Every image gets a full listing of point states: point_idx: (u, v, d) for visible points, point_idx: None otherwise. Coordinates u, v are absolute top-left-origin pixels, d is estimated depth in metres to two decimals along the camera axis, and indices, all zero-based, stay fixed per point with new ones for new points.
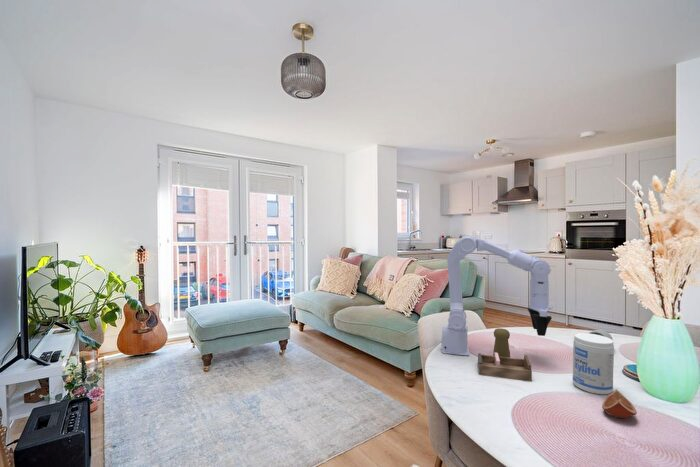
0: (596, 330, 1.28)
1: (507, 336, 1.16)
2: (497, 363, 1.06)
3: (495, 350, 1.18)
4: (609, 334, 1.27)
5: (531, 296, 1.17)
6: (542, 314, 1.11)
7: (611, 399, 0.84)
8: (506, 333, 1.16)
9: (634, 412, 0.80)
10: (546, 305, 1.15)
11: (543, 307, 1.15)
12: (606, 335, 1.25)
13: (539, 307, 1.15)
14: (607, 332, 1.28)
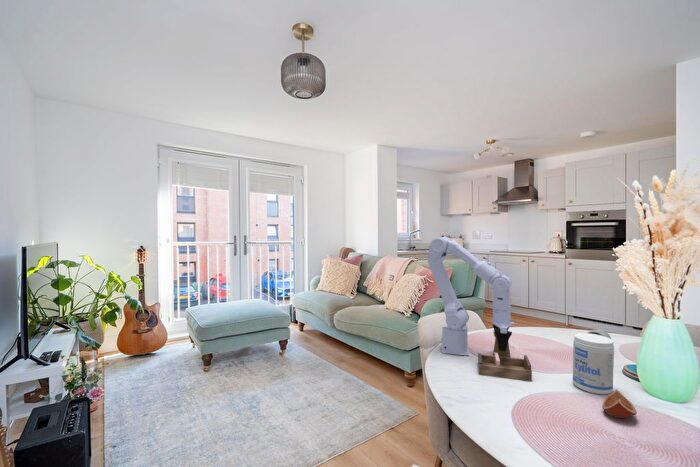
0: (595, 330, 1.28)
1: None
2: (497, 363, 1.06)
3: (495, 350, 1.18)
4: (608, 334, 1.27)
5: (494, 312, 1.18)
6: (502, 331, 1.11)
7: (611, 399, 0.84)
8: None
9: (634, 412, 0.80)
10: (508, 321, 1.16)
11: (505, 323, 1.15)
12: (605, 335, 1.25)
13: (501, 323, 1.16)
14: (606, 332, 1.28)
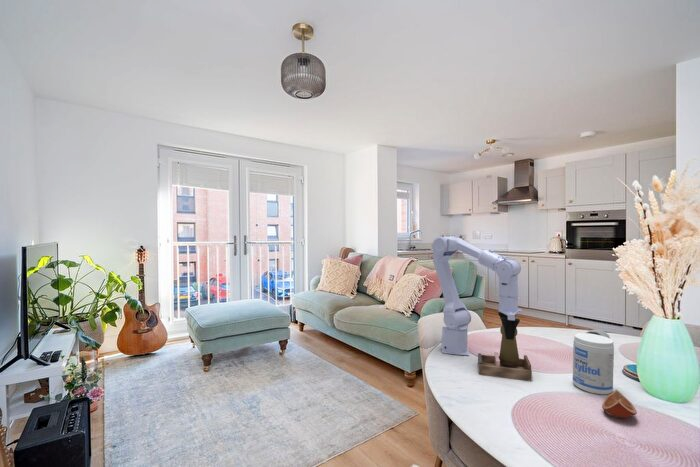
0: (594, 330, 1.29)
1: None
2: (497, 363, 1.06)
3: (502, 348, 1.12)
4: (607, 334, 1.28)
5: (500, 298, 1.11)
6: (510, 318, 1.05)
7: (611, 399, 0.84)
8: None
9: (634, 412, 0.80)
10: (515, 308, 1.09)
11: (512, 310, 1.09)
12: (604, 335, 1.25)
13: (508, 310, 1.09)
14: (605, 332, 1.29)
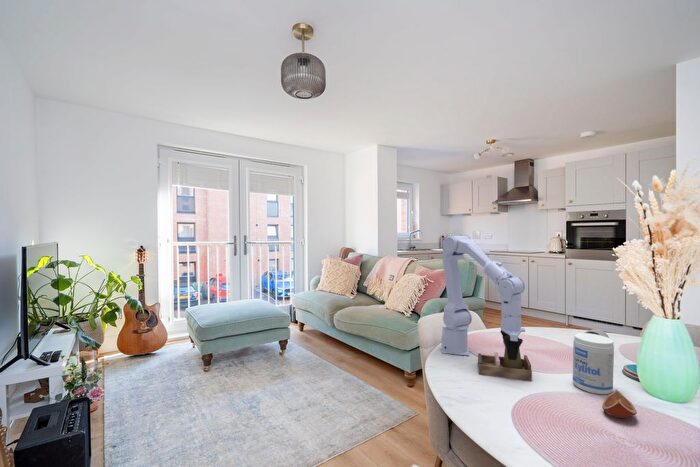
0: (593, 329, 1.29)
1: None
2: (497, 363, 1.06)
3: (505, 359, 1.08)
4: (605, 333, 1.28)
5: (502, 317, 1.08)
6: (512, 338, 1.01)
7: (611, 399, 0.84)
8: None
9: (634, 412, 0.80)
10: (518, 327, 1.06)
11: (515, 330, 1.05)
12: (602, 334, 1.25)
13: (510, 330, 1.06)
14: None
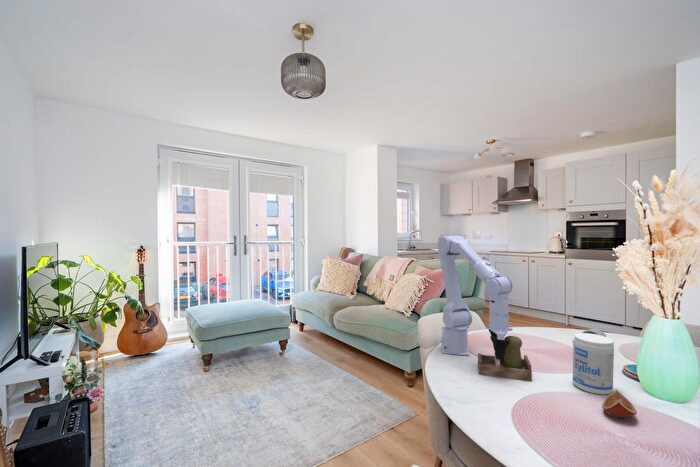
0: (590, 329, 1.29)
1: (519, 345, 1.05)
2: (497, 363, 1.06)
3: (505, 359, 1.08)
4: (603, 333, 1.28)
5: (490, 316, 1.09)
6: (499, 337, 1.03)
7: (611, 399, 0.84)
8: (517, 341, 1.06)
9: (634, 412, 0.80)
10: (505, 326, 1.07)
11: (502, 329, 1.06)
12: (600, 334, 1.26)
13: (498, 328, 1.07)
14: (601, 331, 1.29)
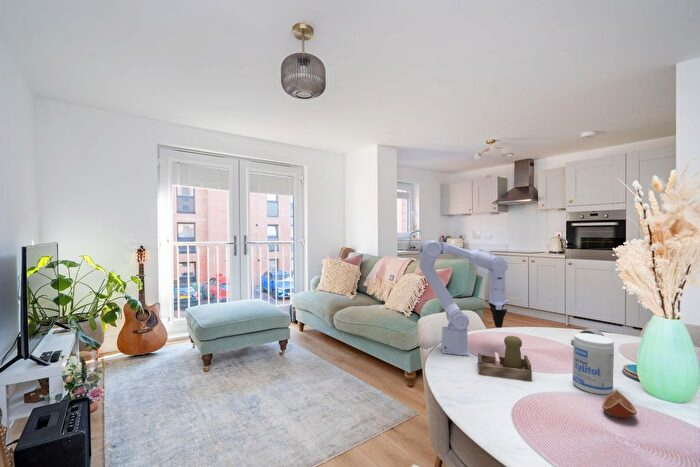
0: (588, 329, 1.30)
1: (518, 345, 1.05)
2: (497, 363, 1.06)
3: (505, 359, 1.08)
4: (601, 333, 1.29)
5: (489, 291, 1.26)
6: (498, 307, 1.19)
7: (611, 399, 0.84)
8: (517, 341, 1.06)
9: (634, 412, 0.80)
10: (503, 299, 1.23)
11: (500, 301, 1.23)
12: (598, 333, 1.26)
13: (496, 301, 1.23)
14: (599, 331, 1.30)
